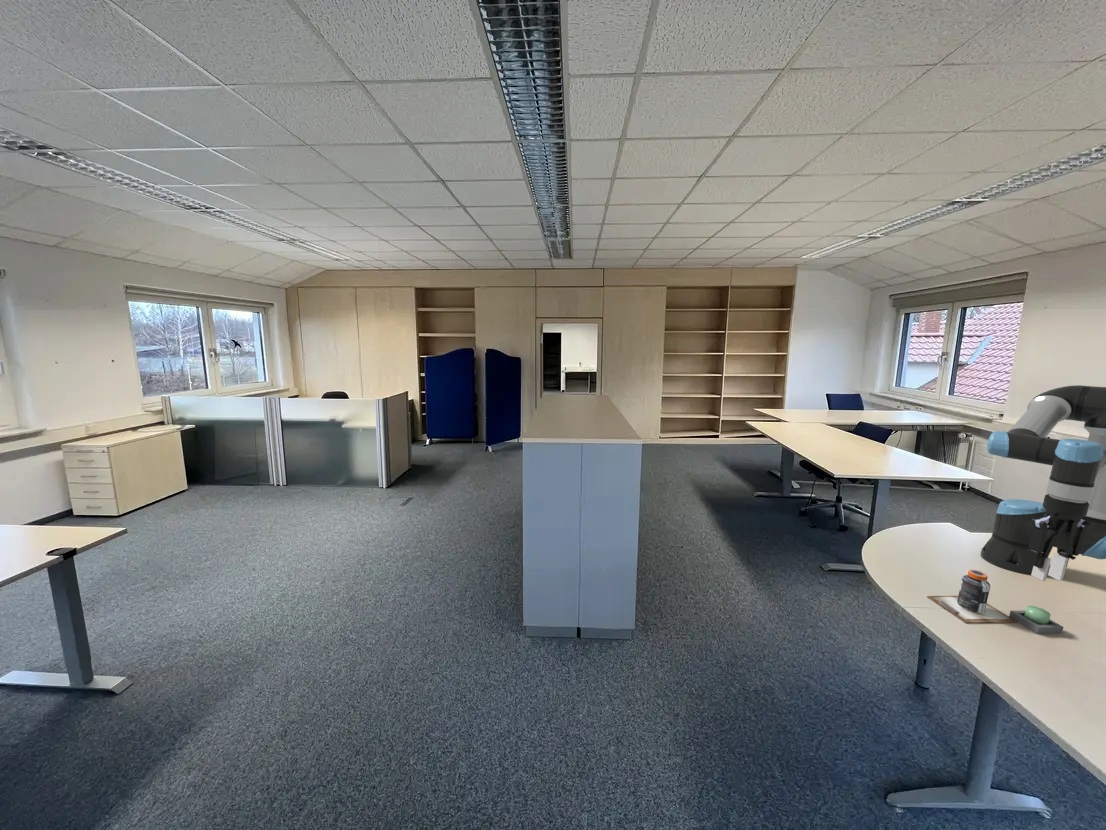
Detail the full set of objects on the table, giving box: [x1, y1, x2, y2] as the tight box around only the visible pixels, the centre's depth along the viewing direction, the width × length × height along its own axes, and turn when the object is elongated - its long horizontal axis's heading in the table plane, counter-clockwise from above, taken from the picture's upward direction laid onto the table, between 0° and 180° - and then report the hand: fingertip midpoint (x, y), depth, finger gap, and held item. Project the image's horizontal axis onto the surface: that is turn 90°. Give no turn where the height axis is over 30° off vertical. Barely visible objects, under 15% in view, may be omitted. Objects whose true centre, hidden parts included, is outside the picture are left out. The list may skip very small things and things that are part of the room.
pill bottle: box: [957, 569, 991, 613], centre depth 122 cm, size 6×6×11 cm
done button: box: [1024, 605, 1051, 625], centre depth 116 cm, size 4×4×3 cm
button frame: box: [1008, 609, 1064, 635], centre depth 117 cm, size 7×7×2 cm
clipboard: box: [926, 595, 1018, 624], centre depth 123 cm, size 15×12×1 cm
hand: (1046, 577), depth 114 cm, fingers open, 4 cm apart
